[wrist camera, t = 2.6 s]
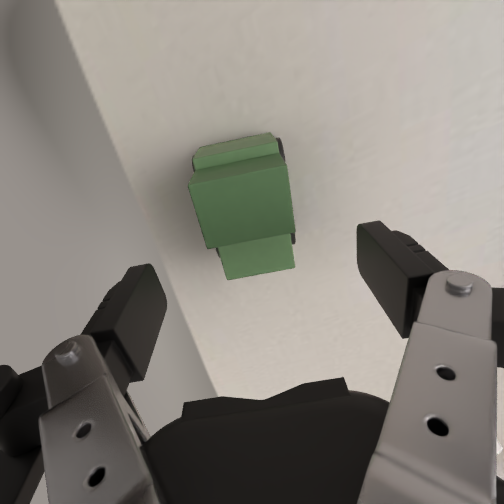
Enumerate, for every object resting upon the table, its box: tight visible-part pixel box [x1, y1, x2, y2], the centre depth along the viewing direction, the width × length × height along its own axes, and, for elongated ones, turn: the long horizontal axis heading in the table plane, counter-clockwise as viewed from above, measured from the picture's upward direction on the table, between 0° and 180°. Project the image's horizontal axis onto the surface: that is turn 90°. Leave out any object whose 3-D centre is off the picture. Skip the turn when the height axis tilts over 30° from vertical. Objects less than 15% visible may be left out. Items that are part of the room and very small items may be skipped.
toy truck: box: [188, 132, 295, 280], centre depth 15 cm, size 7×5×6 cm
